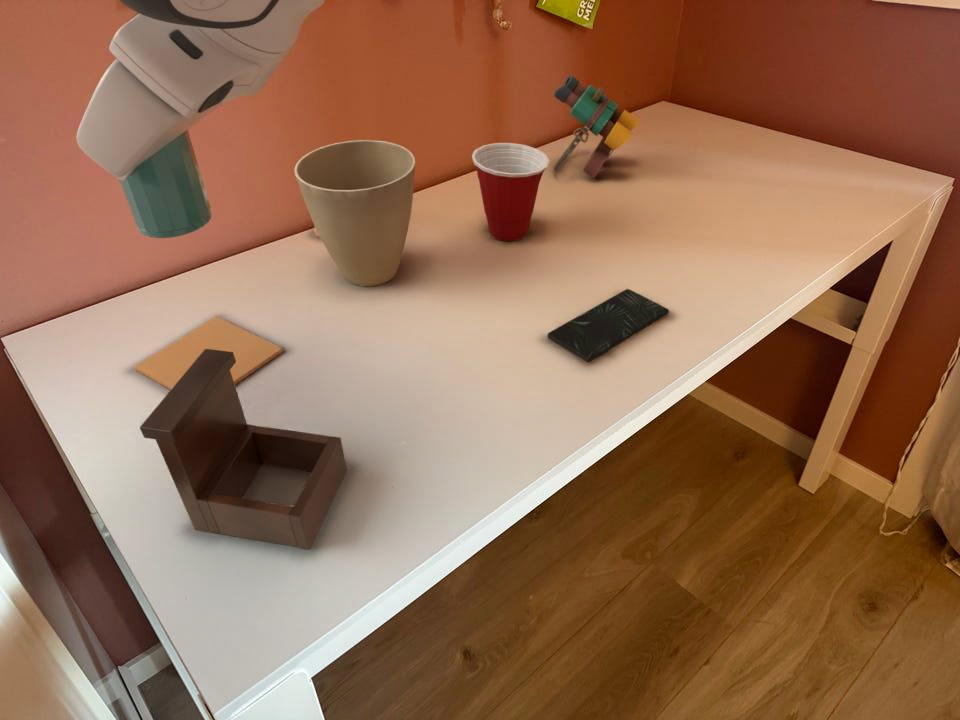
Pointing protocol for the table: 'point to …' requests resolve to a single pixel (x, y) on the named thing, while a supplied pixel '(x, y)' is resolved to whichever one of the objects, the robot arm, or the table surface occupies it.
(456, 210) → the table surface
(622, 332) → the smartphone
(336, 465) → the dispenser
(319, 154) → the plant pot
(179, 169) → the cup
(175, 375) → the mat
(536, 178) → the plastic cup
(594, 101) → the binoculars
